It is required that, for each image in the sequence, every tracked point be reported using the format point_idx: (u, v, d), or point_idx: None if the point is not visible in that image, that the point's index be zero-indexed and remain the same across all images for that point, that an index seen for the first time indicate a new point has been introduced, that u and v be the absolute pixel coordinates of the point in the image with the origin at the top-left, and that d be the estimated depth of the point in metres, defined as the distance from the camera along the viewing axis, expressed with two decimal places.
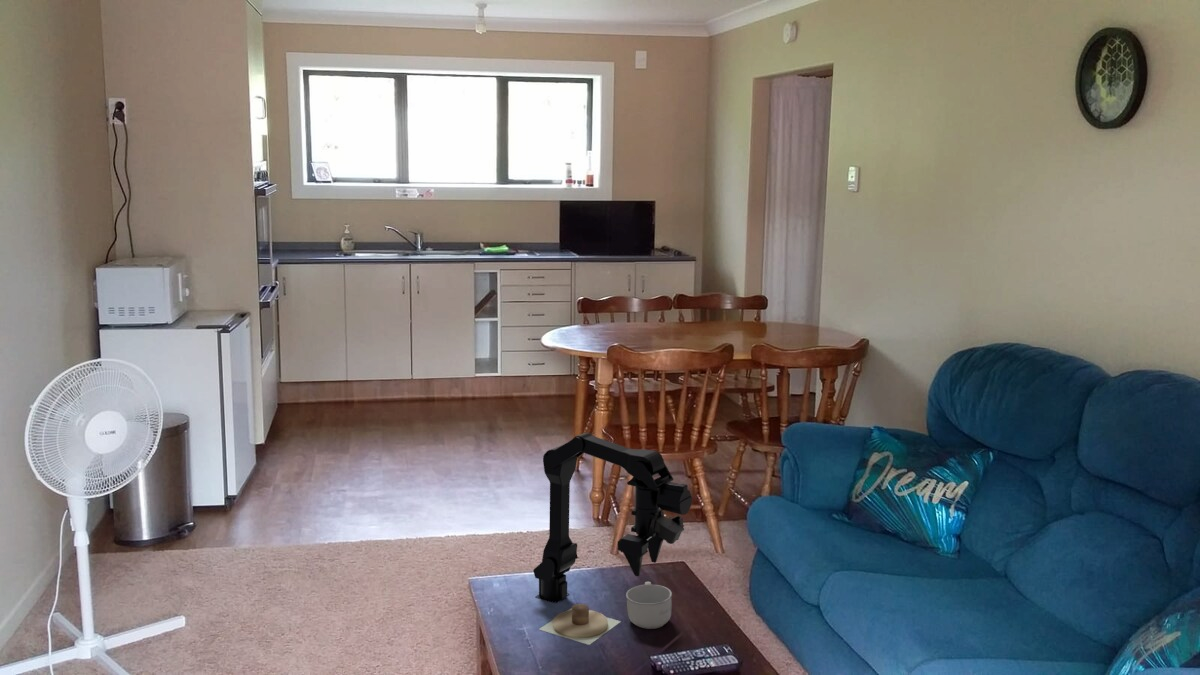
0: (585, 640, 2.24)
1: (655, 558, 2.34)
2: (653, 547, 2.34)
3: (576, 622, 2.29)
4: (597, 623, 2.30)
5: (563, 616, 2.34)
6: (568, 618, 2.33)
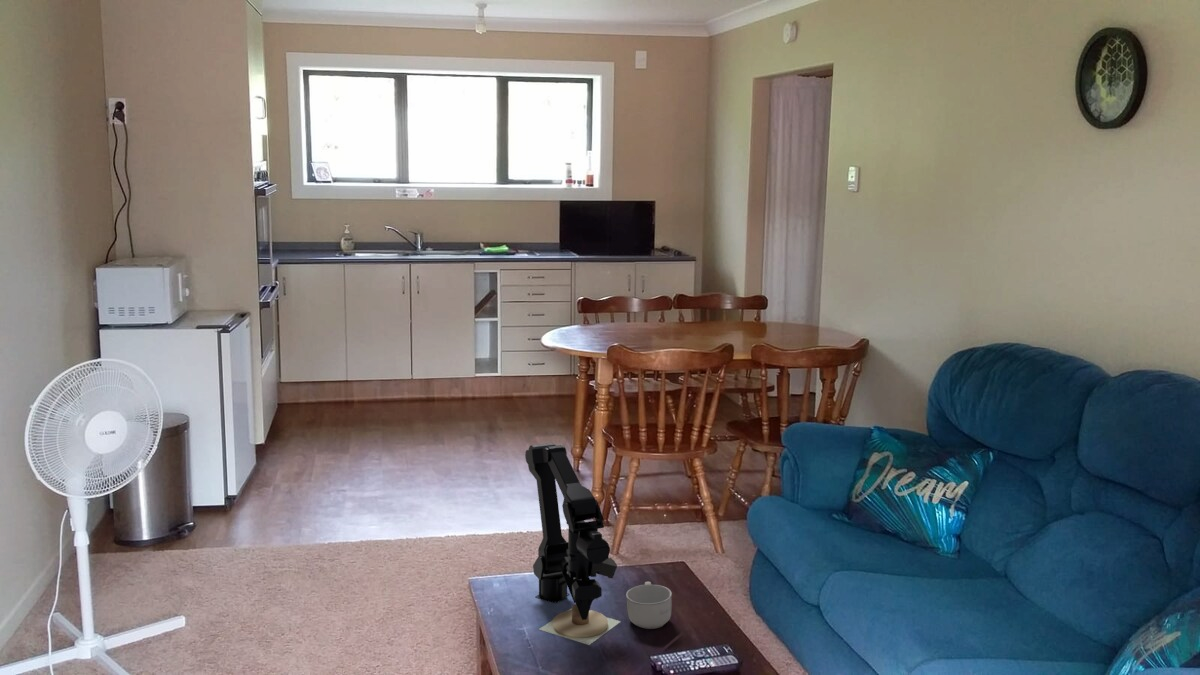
0: (585, 640, 2.24)
1: None
2: None
3: (576, 622, 2.29)
4: (597, 623, 2.30)
5: (563, 616, 2.34)
6: (568, 618, 2.33)
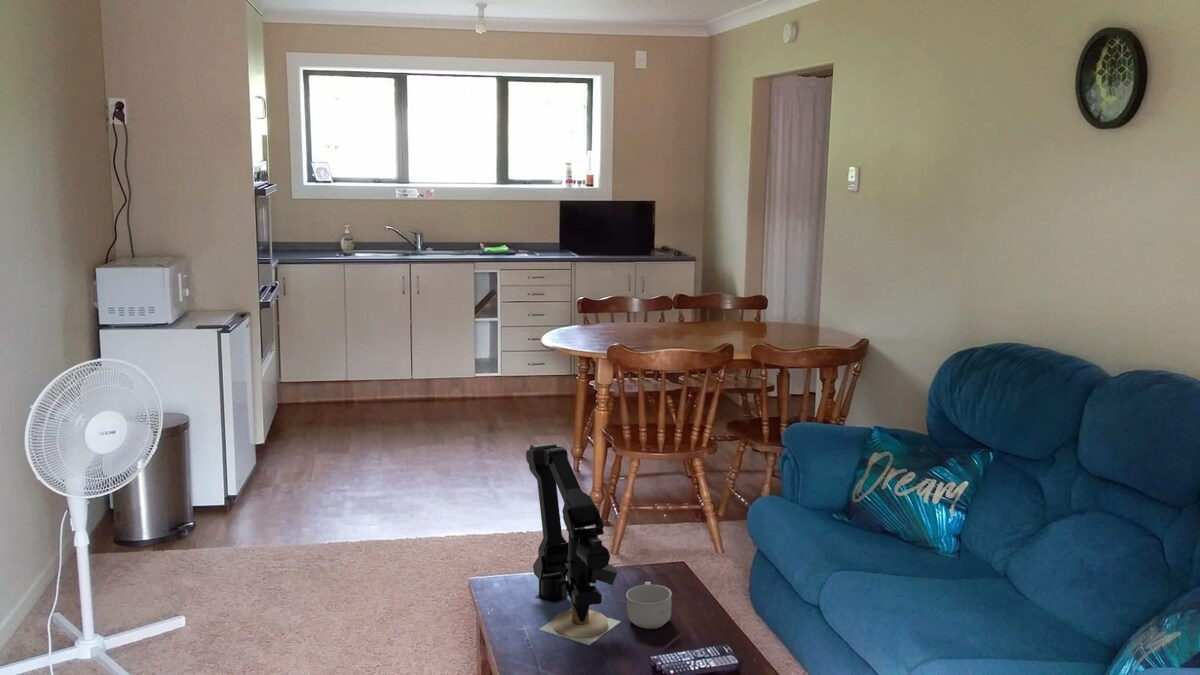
0: (585, 640, 2.24)
1: None
2: None
3: (576, 622, 2.29)
4: (597, 623, 2.30)
5: (563, 616, 2.34)
6: (568, 618, 2.33)
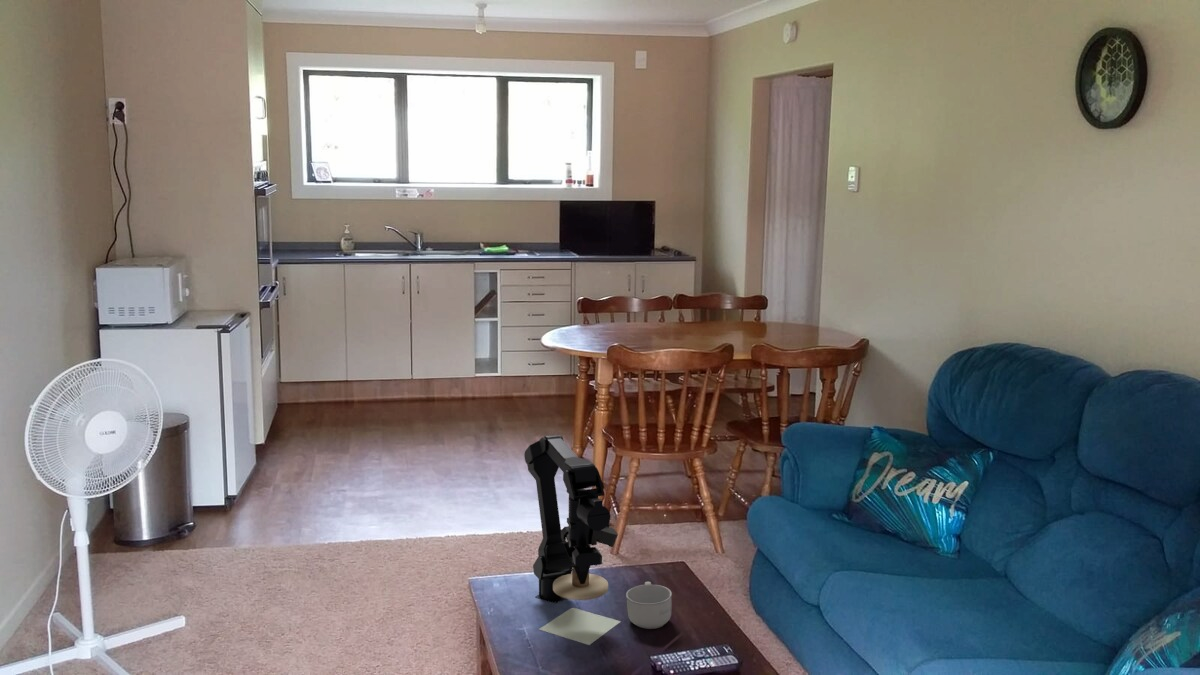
0: (585, 640, 2.24)
1: None
2: None
3: (576, 584, 2.28)
4: (597, 586, 2.28)
5: (563, 579, 2.32)
6: (568, 581, 2.31)
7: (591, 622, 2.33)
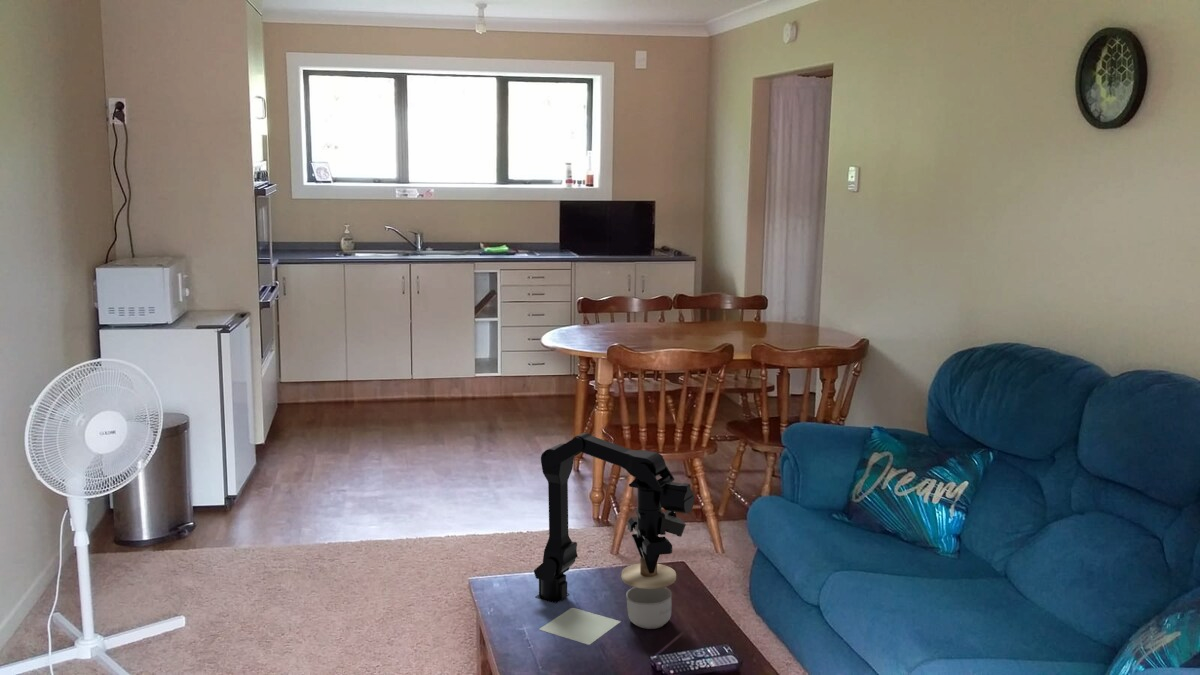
0: (585, 640, 2.24)
1: None
2: None
3: (645, 574, 2.31)
4: (665, 575, 2.32)
5: (631, 569, 2.35)
6: (636, 570, 2.34)
7: (591, 622, 2.33)
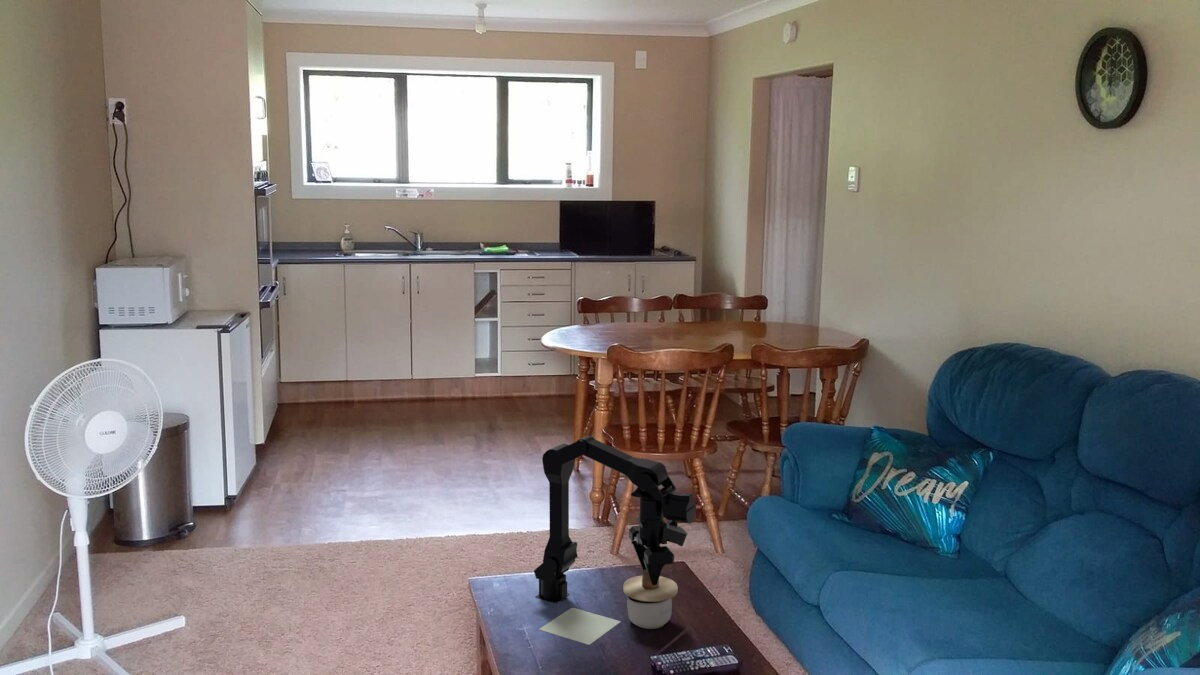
0: (585, 640, 2.24)
1: None
2: (645, 558, 2.36)
3: (647, 586, 2.32)
4: (667, 588, 2.33)
5: (632, 581, 2.36)
6: (637, 583, 2.35)
7: (591, 622, 2.33)
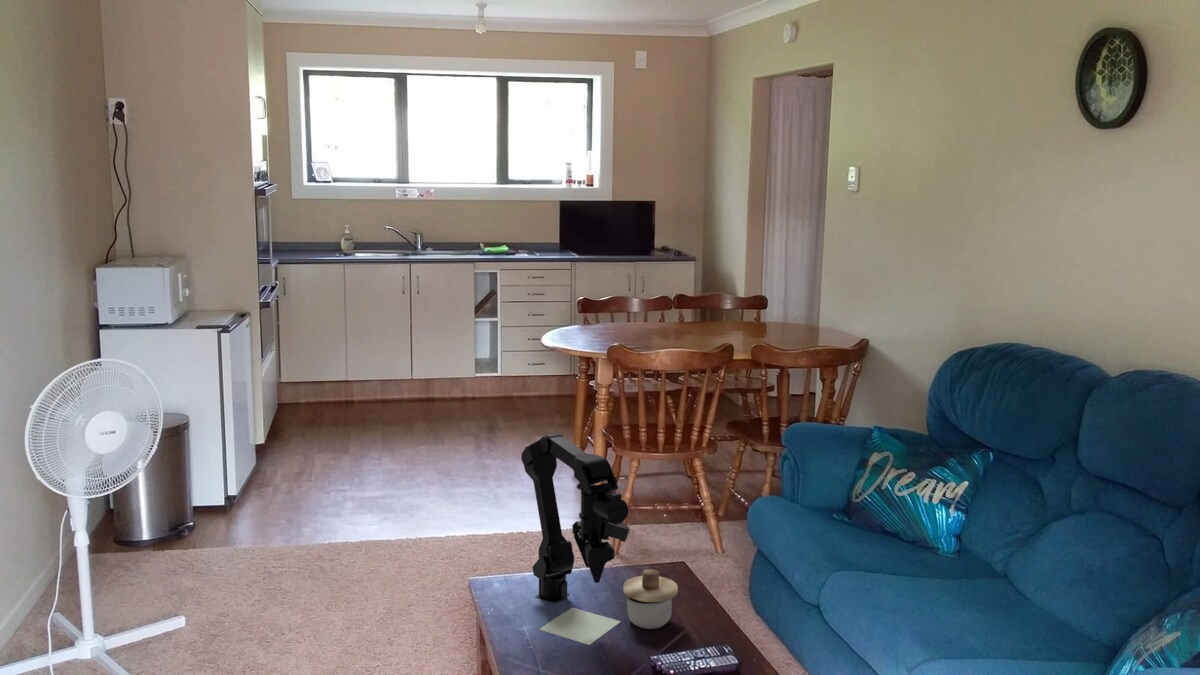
0: (585, 640, 2.24)
1: None
2: None
3: (647, 587, 2.32)
4: (667, 588, 2.32)
5: (632, 581, 2.36)
6: (637, 583, 2.35)
7: (591, 622, 2.33)
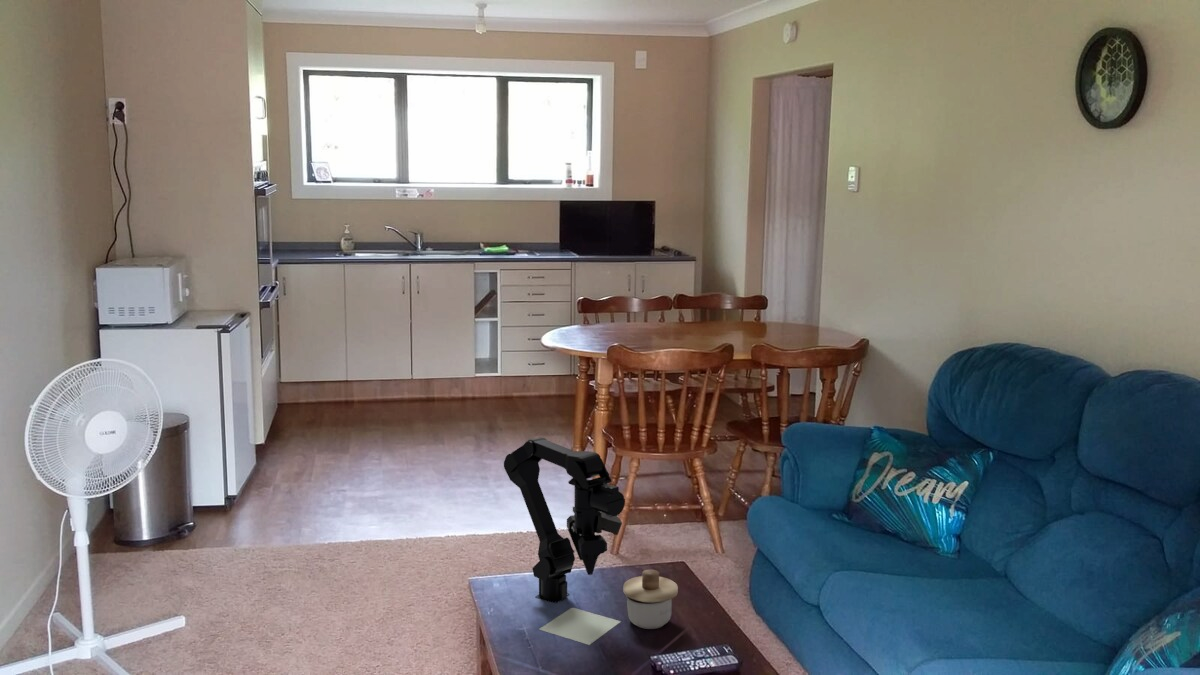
0: (585, 640, 2.24)
1: None
2: None
3: (647, 587, 2.31)
4: (667, 588, 2.32)
5: (632, 582, 2.36)
6: (637, 583, 2.35)
7: (591, 622, 2.33)
